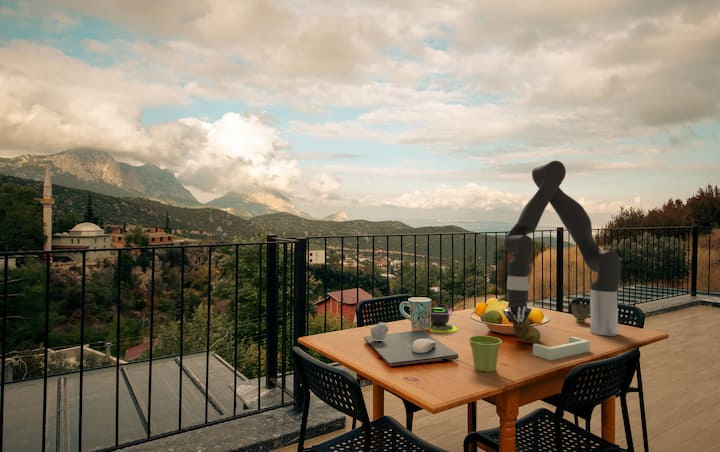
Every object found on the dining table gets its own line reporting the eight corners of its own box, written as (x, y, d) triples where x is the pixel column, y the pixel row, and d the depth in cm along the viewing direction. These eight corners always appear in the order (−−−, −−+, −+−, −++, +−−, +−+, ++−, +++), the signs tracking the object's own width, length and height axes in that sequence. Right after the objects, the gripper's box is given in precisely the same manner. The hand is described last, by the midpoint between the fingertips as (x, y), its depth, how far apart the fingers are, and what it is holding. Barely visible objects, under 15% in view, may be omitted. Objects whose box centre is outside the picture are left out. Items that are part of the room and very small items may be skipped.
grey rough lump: (386, 344, 145) (386, 325, 145) (367, 342, 147) (367, 323, 147) (390, 340, 150) (390, 321, 150) (372, 338, 153) (372, 319, 153)
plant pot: (483, 376, 114) (483, 345, 114) (462, 365, 123) (462, 337, 123) (508, 371, 118) (508, 342, 118) (486, 361, 127) (486, 334, 127)
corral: (571, 346, 144) (571, 336, 144) (589, 351, 138) (589, 341, 138) (532, 354, 134) (532, 344, 134) (550, 360, 129) (550, 349, 129)
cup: (574, 323, 178) (574, 305, 178) (568, 320, 185) (569, 302, 186) (593, 324, 177) (593, 306, 177) (586, 320, 184) (586, 303, 184)
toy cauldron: (463, 328, 170) (463, 301, 170) (445, 335, 159) (446, 306, 159) (432, 322, 180) (432, 297, 180) (413, 328, 169) (413, 302, 169)
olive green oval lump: (550, 344, 147) (550, 322, 147) (521, 347, 142) (521, 324, 142) (533, 338, 154) (533, 317, 154) (505, 341, 150) (505, 319, 150)
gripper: (521, 285, 159) (521, 329, 159) (497, 287, 153) (496, 333, 153) (538, 288, 152) (537, 334, 152) (513, 290, 146) (512, 338, 146)
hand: (517, 334), depth 152 cm, fingers closed
